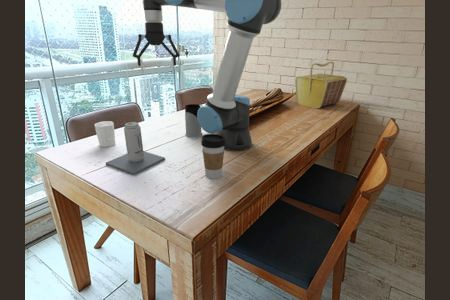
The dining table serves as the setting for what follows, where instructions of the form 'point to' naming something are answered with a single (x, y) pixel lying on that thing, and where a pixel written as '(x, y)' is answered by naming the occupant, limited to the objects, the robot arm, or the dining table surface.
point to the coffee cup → (213, 154)
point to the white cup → (105, 133)
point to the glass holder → (192, 121)
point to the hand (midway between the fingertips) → (158, 73)
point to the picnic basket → (319, 88)
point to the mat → (135, 163)
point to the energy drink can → (133, 142)
